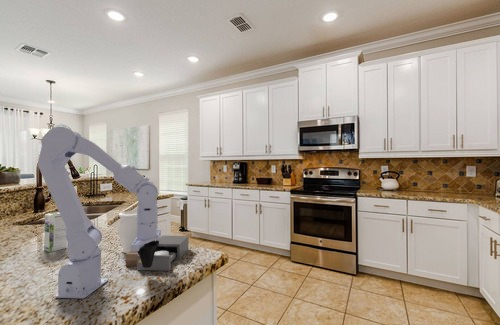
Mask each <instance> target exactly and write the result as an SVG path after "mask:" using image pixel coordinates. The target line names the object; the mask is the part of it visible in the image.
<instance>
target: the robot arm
mask: <svg viewBox="0 0 500 325" xmlns="http://www.w3.org/2000/svg"><path fill="white" fill-rule="evenodd" d="M40 142H41V148H40V151H39V157H38V160H37V167H38V168H39V171H40V173H41V176H42V177H43V179H44V182H45V184H46V187H47V189H48V191H49V193H50V195H51V197H52V200H53V202H54V203H55V206H56V208H57V210H58V211H57V212H59V213H60V215H61V217H62V219H63V222H64V224H65V226H66V239H67V248H66V251H67V255H69V258H68V261H67V262H66V263H65V264H64V265H62V267H61V268H60V269H59V271H58V275H57V276H58V277H57V281H58V283H57V287H58V288H57V294H55V295H54V298H56V299H57V298H59V299H61V298H63V299H85V298H87V297H88V296H89V295H91V294H92V293H93V292H95V291H96V290H97V289H99V288H100V287H102V286H103V285H104V284H105V283H107V282H108V281H109V278H102V250H101V249H100V247H99V245H100V243H101V242H102V238H103V234H102V232H101V230H100V229H99V228H97V227H96V226H95V225H94V224H93V221H92V220H91V219H90V218H89V217H88V216H87V214H86V211H85V209H84V206H83V205H82V202H81V199H80V197H79V195H78V193H77V191H76V189H75V186H74V184H73V182H72V180H71V177H70V174H69V173H68V171H67V168H66V166H67V164H68V163H69V161H70V160H71V158H72V157H73V156H74V155H76V154H81V155H85V156H88V157H90V158H91V159H92V160H94V161H96V162H97V163H98V164H100V165H101V166H103V167H104V168H105V169H107V170H108V171H109V172H111V173H112V174H113V180H114V181H115V182H117V183H118V184H119V185H120V186H122V187H124V189H126V190H127V191H129V192H130V193H131V194H135V196H136V198H137V209H136V210H137V237H136V239H135V241H134V242H133V243H132V244H131V251H137V252H138V254H139V256H140V259H141V262H142V266H143V268H150V267H151V266H152V262H153V258H154V254H155V251H156V248H157V246H158V244H159V241H156V240H159V239H160V238H161V236H162V230H161V229H158V218H159V216H158V209H159V208H158V200H157V198H158V197H159V191H158V187H157V186H156V184H155V183H154V182H153V181H150V177H149V178H148V177H145V176H144V175H142V174H141V173H140V172H139V171H137V167H136V166H134V165H133V166H131V165H130V164H124V165H123V164H121V163H120V162H118V160H116V159H115V158H114V157H113V156H111V155H110V154H109V153H108V152H106V151H105V150H104V149H103V148H101V147H100V146H99V145H98V144H96V142H93V141H92V140H89V139H88V138H87V137H84V136H82V135H81V134H80V133H79V132H77V131H74V130H71V129H70V128H68V127H66V126H65V127H64V126H55V127H52V128H51V129H49V130H48V131H47V132H46V133H45V134H44V135H43V136H42V138H41V139H40Z"/></svg>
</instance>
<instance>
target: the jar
mask: <svg viewBox="0 0 500 325" xmlns="http://www.w3.org/2000/svg"><path fill="white" fill-rule="evenodd" d="M118 217H119V218H120V219H119V222H118V235H119V236H118V237H119V242H120V244H121V246H122V248H121V253H125V254H127V253H128V252H130V251H131V244H132V243H133V242H134V241H135V239H136V237H137V209H132V210H127V211H122V212H119V213H118Z"/></svg>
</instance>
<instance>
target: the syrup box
mask: <svg viewBox="0 0 500 325" xmlns="http://www.w3.org/2000/svg"><path fill="white" fill-rule="evenodd" d="M43 232H44V234H43V235H44V237H43V245H44V246H43V250H44V251H47V252H50V253H53V252H57V251H61V250H64V249H67V245H68V242H67V239H66V226H65V224H64V222H63V219H62V217H61V215H60V213H59V211H57V212H49V213H45V214H44V231H43Z"/></svg>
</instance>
